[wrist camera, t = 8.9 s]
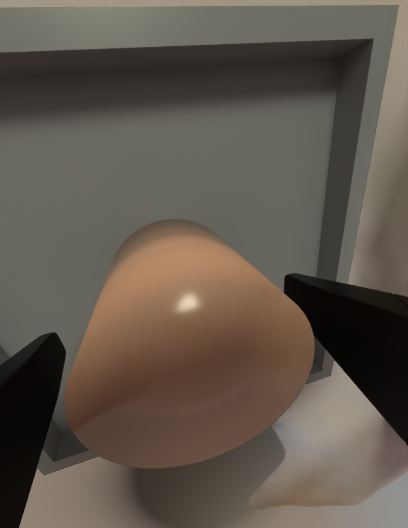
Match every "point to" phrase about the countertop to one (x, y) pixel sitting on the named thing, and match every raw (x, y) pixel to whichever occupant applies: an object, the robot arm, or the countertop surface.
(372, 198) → the countertop surface
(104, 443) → the tan rounded cone
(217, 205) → the tray
